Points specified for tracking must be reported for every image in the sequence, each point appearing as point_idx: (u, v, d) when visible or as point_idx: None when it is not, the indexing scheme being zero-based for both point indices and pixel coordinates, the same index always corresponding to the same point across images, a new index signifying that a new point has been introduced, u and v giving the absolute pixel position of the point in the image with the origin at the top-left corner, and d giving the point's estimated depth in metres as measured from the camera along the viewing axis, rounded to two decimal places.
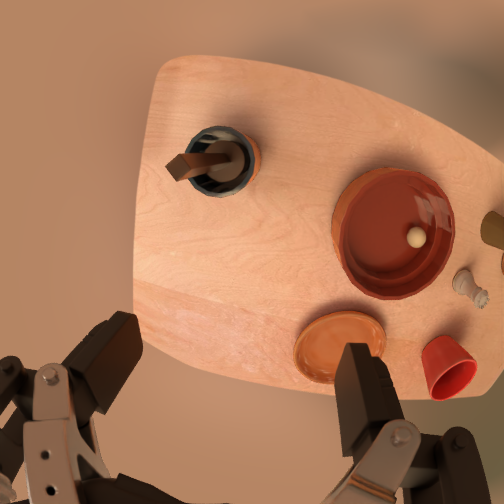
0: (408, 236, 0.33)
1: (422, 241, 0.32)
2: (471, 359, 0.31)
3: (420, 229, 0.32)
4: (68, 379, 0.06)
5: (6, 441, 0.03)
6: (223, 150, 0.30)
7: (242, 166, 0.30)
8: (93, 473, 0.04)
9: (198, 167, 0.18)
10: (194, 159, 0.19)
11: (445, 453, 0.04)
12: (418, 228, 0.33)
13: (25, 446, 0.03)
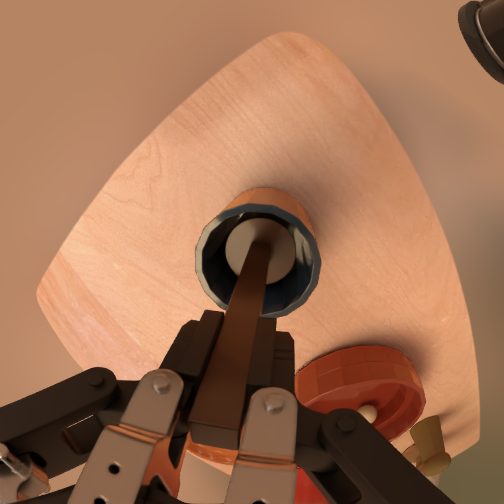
0: (361, 412, 0.29)
1: None
2: None
3: (375, 413, 0.28)
4: (181, 394, 0.06)
5: (64, 448, 0.04)
6: (272, 241, 0.19)
7: (277, 278, 0.19)
8: (161, 488, 0.04)
9: None
10: None
11: (324, 433, 0.05)
12: (374, 411, 0.28)
13: (95, 450, 0.04)
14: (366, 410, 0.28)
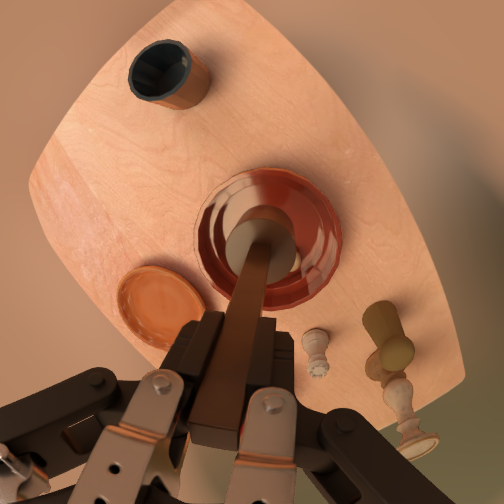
0: None
1: None
2: None
3: (297, 255, 0.34)
4: (181, 394, 0.06)
5: (64, 448, 0.04)
6: (272, 241, 0.19)
7: (277, 279, 0.19)
8: (162, 488, 0.04)
9: None
10: None
11: (323, 433, 0.05)
12: (296, 253, 0.34)
13: (95, 450, 0.04)
14: None
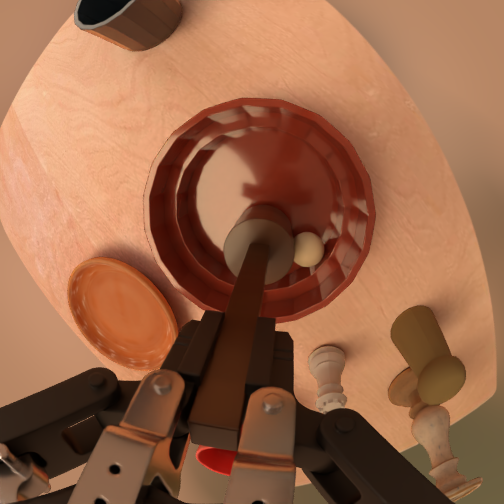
0: (302, 241, 0.22)
1: (319, 260, 0.22)
2: None
3: None
4: (182, 394, 0.06)
5: (64, 449, 0.04)
6: (270, 242, 0.19)
7: (275, 279, 0.20)
8: (162, 488, 0.04)
9: None
10: None
11: (322, 433, 0.05)
12: (319, 238, 0.23)
13: (95, 450, 0.04)
14: (309, 236, 0.22)
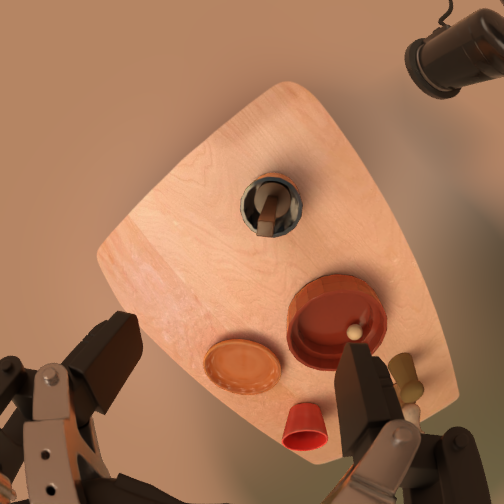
0: (361, 331, 0.45)
1: None
2: (326, 435, 0.48)
3: None
4: (68, 379, 0.06)
5: (6, 441, 0.03)
6: (278, 194, 0.36)
7: (281, 215, 0.37)
8: (93, 473, 0.04)
9: None
10: (274, 223, 0.25)
11: (445, 453, 0.04)
12: None
13: (25, 446, 0.03)
14: (362, 331, 0.45)
